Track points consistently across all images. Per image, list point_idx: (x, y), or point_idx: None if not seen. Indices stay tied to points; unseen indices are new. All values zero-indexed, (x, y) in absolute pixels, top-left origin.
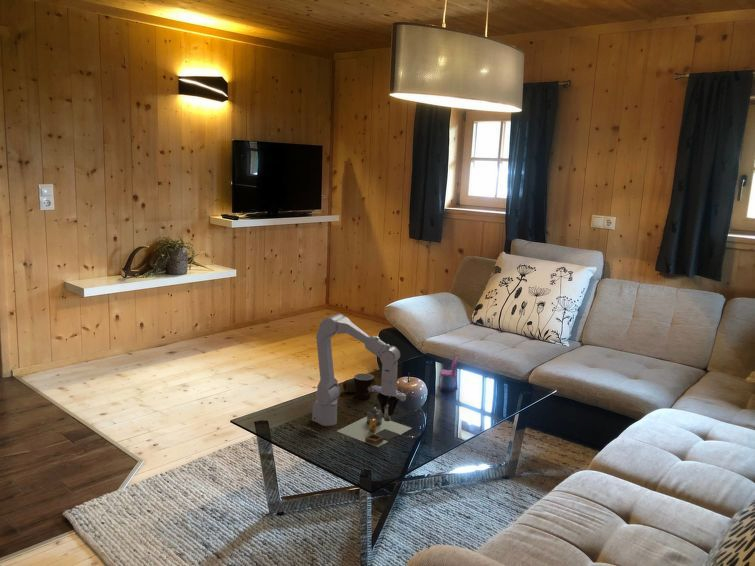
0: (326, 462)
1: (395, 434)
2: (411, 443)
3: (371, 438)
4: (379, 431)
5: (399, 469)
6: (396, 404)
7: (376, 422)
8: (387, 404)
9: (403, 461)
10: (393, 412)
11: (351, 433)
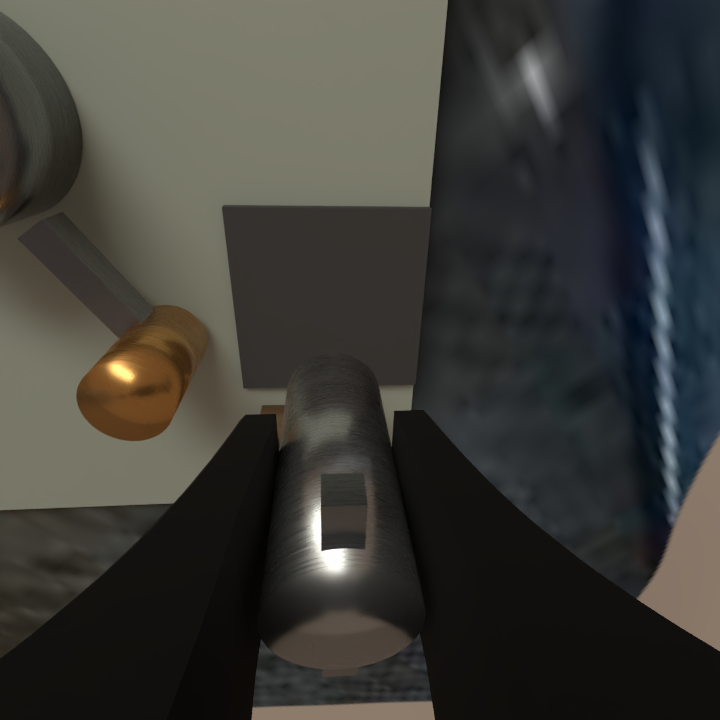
0: (281, 698)
1: (400, 246)
2: (584, 239)
3: (278, 441)
4: (216, 279)
5: (631, 560)
6: (568, 552)
7: (52, 186)
8: (312, 606)
9: (623, 492)
10: (439, 430)
11: (85, 469)
